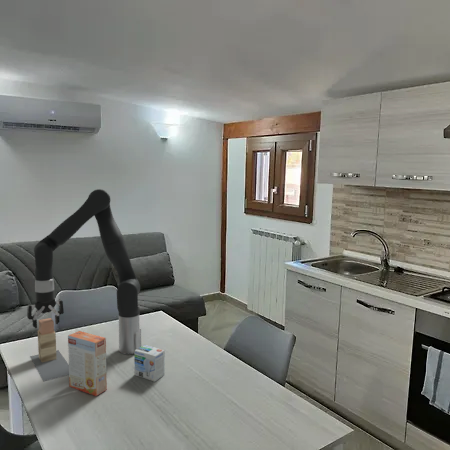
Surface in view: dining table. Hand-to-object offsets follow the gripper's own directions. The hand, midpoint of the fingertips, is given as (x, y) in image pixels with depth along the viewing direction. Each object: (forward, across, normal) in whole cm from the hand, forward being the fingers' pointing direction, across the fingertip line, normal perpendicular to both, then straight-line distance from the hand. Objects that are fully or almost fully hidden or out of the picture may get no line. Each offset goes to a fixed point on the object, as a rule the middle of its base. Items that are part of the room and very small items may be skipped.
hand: (46, 325), depth 185 cm
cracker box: (+15, -7, +34) cm, 38 cm away
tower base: (+15, 0, 0) cm, 15 cm away
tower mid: (+9, 0, 0) cm, 9 cm away
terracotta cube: (+3, 0, 0) cm, 3 cm away
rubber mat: (+15, 0, +7) cm, 17 cm away
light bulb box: (+15, -31, +37) cm, 51 cm away
